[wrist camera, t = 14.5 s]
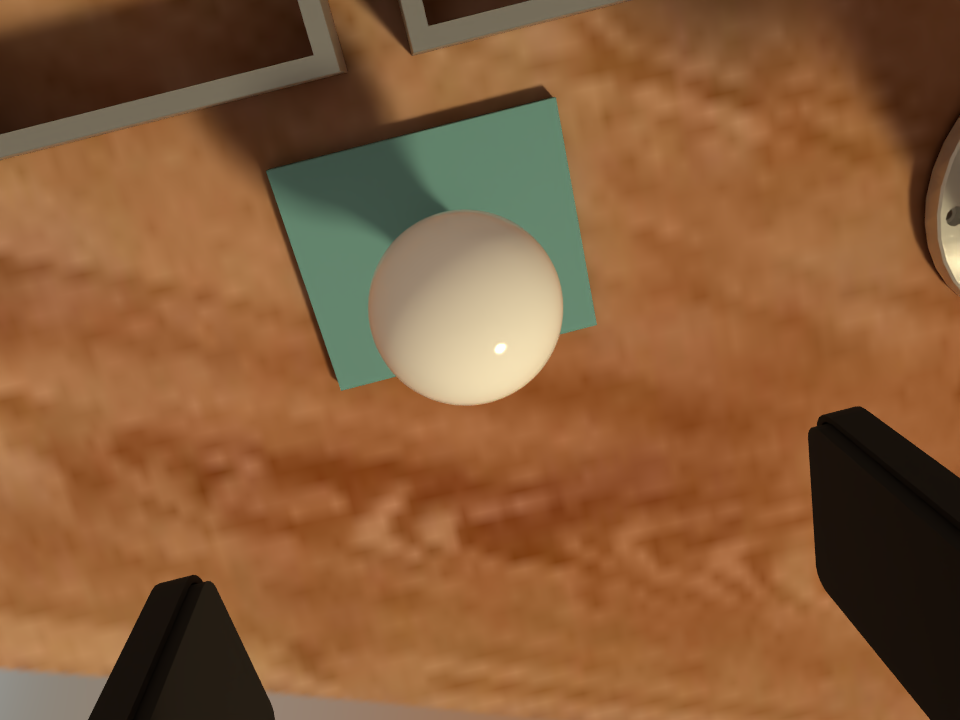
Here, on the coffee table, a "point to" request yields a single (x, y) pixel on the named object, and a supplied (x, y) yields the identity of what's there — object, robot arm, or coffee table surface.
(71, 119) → the box
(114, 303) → the coffee table surface
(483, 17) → the box
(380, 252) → the mat
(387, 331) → the lightbulb
